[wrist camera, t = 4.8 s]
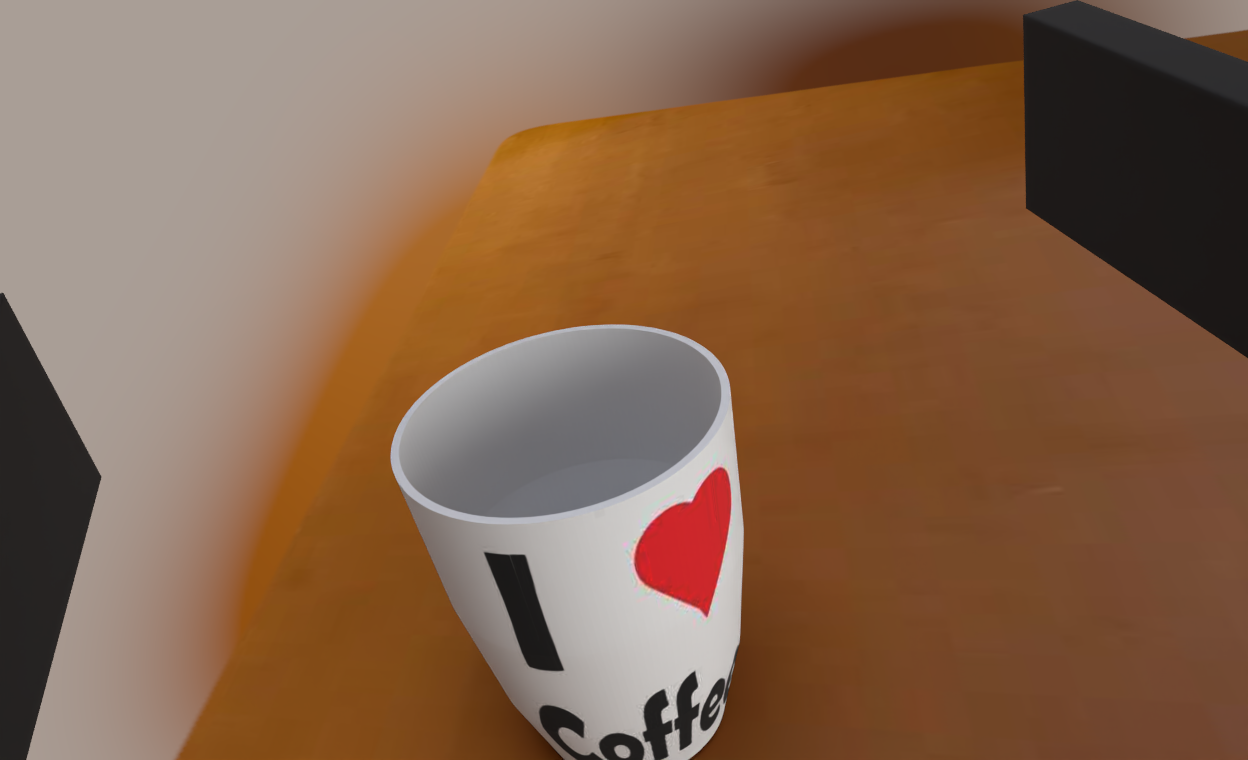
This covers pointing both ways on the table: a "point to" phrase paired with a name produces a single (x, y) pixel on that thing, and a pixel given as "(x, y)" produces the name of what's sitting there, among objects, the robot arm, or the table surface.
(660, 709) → the cup
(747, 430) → the table surface
